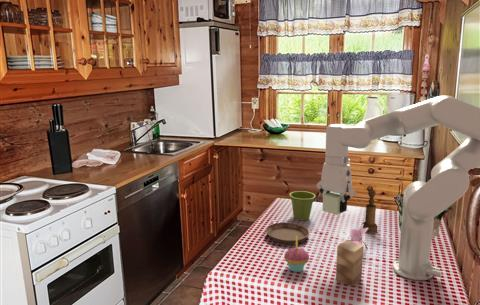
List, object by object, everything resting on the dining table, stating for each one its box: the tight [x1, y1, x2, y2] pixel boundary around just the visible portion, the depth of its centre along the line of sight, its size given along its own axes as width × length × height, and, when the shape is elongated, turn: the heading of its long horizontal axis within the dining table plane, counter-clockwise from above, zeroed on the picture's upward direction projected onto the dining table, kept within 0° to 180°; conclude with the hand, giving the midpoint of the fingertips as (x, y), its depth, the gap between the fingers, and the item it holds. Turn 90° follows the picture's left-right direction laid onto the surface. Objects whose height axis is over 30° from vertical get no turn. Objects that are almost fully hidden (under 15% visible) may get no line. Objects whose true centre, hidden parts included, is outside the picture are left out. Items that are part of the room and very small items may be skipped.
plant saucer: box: [265, 222, 310, 245], centre depth 161 cm, size 18×18×3 cm
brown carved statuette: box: [361, 189, 379, 234], centre depth 165 cm, size 7×6×18 cm
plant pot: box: [289, 190, 316, 221], centre depth 180 cm, size 12×12×11 cm
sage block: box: [322, 191, 347, 216], centre depth 138 cm, size 6×6×6 cm
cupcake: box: [283, 236, 310, 273], centre depth 134 cm, size 9×8×12 cm
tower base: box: [335, 262, 363, 287], centre depth 128 cm, size 6×6×6 cm
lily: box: [349, 223, 368, 250], centre depth 149 cm, size 12×12×10 cm
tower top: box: [336, 239, 365, 269], centre depth 127 cm, size 6×6×6 cm
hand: (334, 208), depth 138 cm, fingers closed on sage block, 6 cm apart
